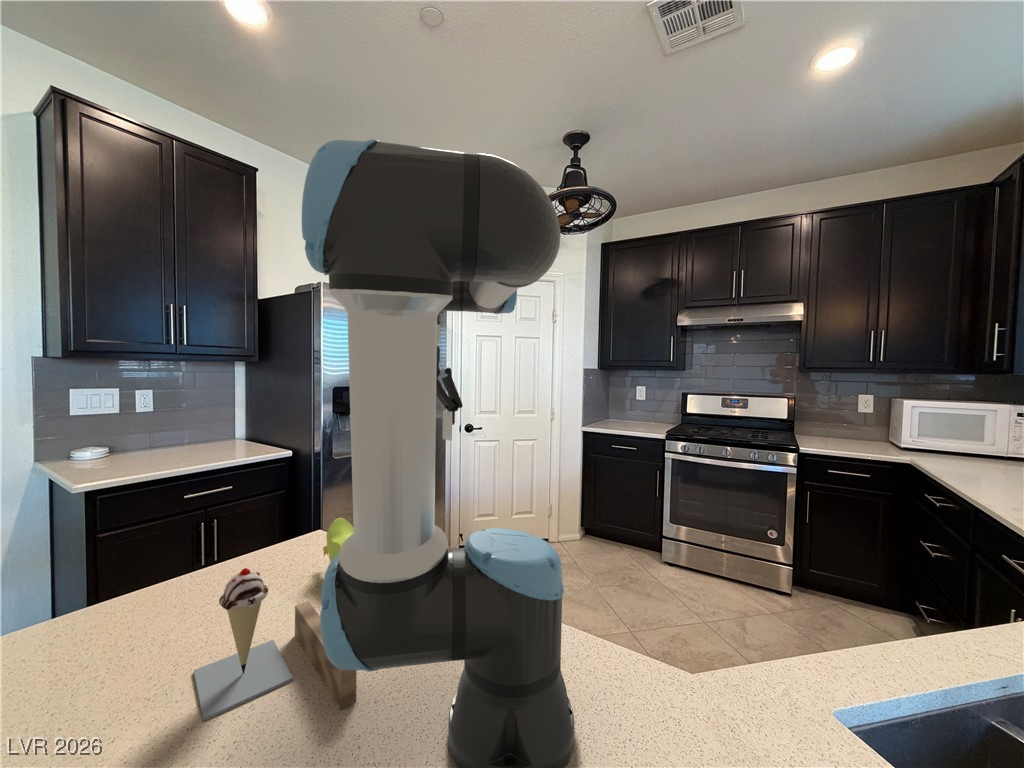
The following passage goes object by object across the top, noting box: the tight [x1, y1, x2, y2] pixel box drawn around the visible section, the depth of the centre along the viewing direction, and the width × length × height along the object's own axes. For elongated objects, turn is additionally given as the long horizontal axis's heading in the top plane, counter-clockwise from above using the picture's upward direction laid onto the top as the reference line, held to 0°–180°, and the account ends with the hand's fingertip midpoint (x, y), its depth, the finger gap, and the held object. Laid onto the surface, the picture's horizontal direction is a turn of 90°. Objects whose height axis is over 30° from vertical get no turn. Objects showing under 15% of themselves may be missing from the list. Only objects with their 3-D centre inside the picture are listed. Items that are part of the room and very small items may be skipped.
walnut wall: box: [294, 600, 358, 710], centre depth 59 cm, size 20×2×5 cm, turn 43°
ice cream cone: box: [218, 567, 269, 674], centre depth 56 cm, size 6×6×15 cm
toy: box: [322, 517, 354, 563], centre depth 83 cm, size 6×17×20 cm
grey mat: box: [193, 639, 294, 722], centre depth 57 cm, size 11×10×1 cm
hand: (421, 442), depth 87 cm, fingers open, 13 cm apart
